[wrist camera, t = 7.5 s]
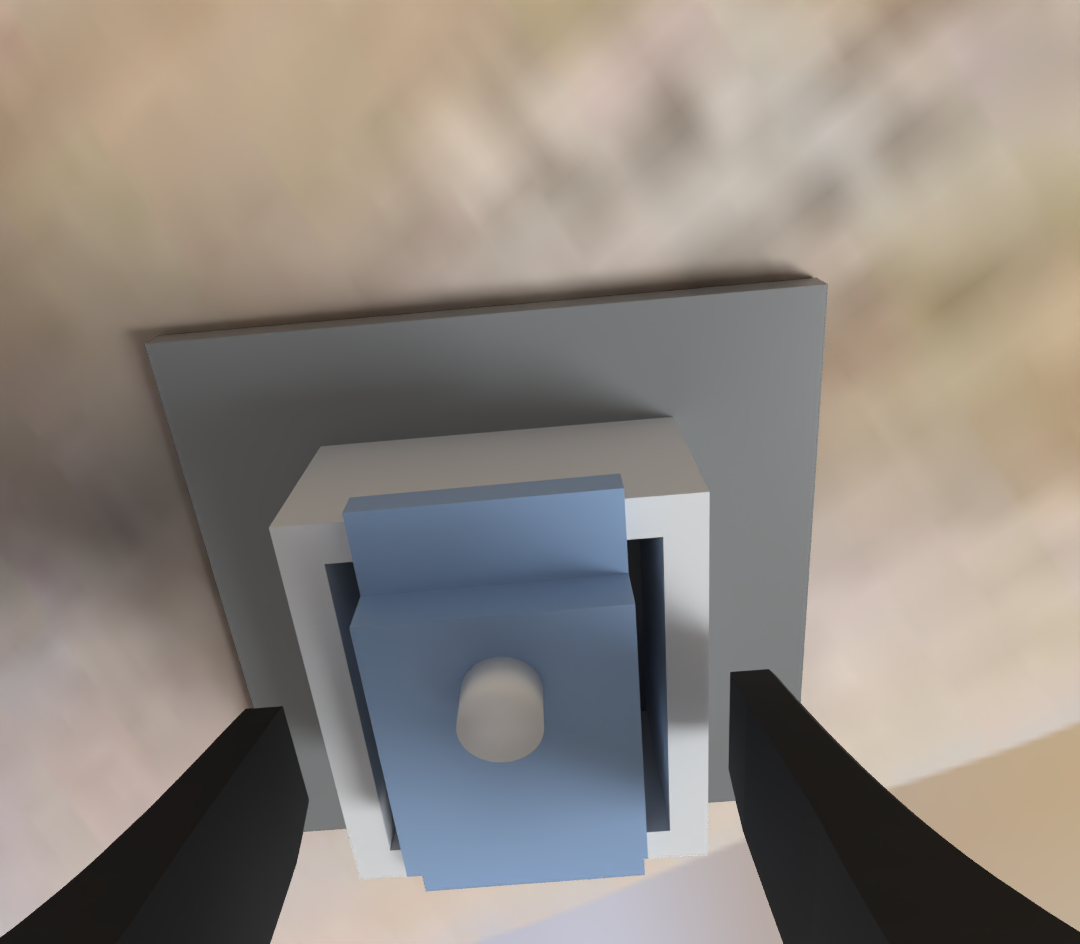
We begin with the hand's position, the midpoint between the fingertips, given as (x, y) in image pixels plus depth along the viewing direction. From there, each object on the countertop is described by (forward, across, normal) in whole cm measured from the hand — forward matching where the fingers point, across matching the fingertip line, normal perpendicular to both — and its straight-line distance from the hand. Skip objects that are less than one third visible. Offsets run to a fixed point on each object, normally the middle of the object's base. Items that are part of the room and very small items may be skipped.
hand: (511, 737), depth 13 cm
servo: (+4, 0, 0) cm, 4 cm away
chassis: (+4, 0, 0) cm, 4 cm away
